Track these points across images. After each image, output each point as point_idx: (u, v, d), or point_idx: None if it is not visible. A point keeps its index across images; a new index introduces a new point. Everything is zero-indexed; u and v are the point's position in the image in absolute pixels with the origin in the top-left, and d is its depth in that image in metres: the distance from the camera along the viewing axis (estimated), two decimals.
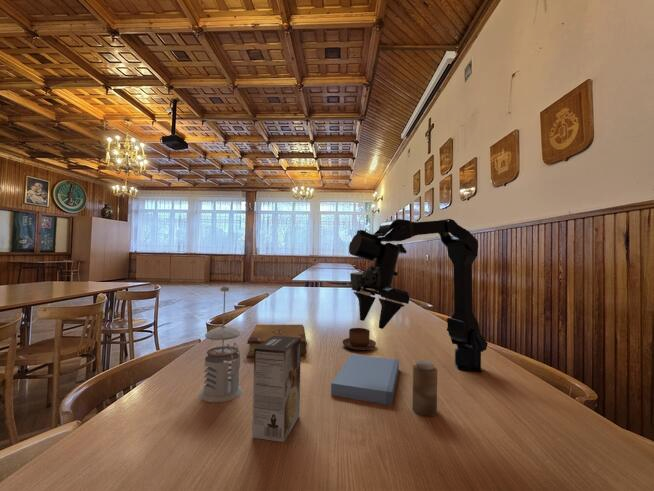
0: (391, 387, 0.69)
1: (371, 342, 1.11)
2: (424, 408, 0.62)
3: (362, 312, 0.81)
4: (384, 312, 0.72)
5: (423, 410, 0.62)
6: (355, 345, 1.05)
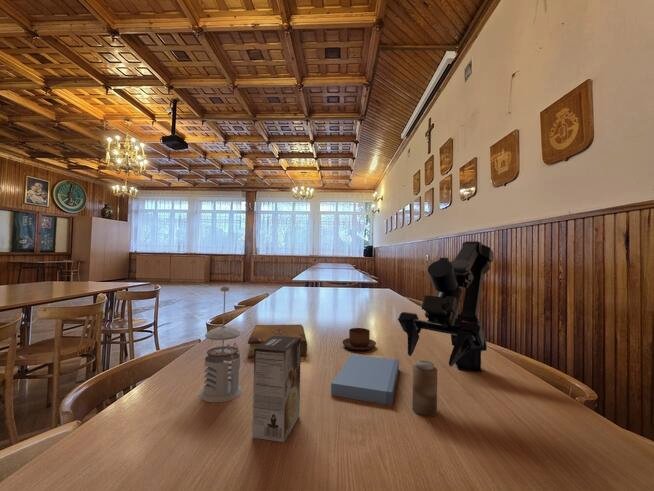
0: (391, 387, 0.69)
1: (371, 342, 1.11)
2: (424, 408, 0.62)
3: (411, 346, 0.70)
4: (459, 347, 0.64)
5: (423, 410, 0.62)
6: (355, 345, 1.05)
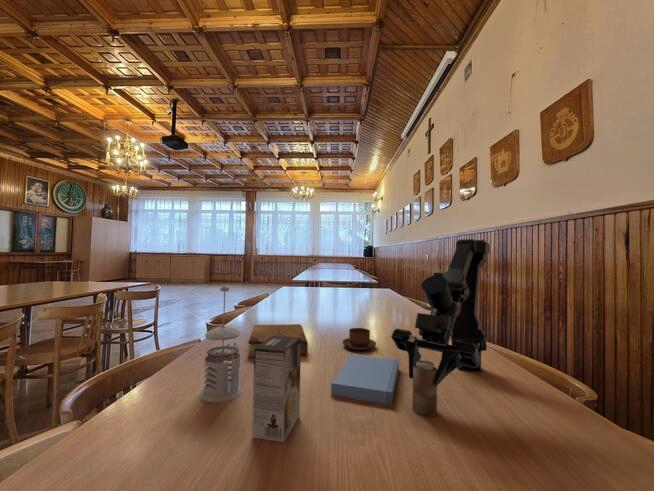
0: (391, 387, 0.69)
1: (371, 342, 1.11)
2: (424, 408, 0.62)
3: None
4: (445, 366, 0.63)
5: (423, 410, 0.62)
6: (355, 345, 1.05)
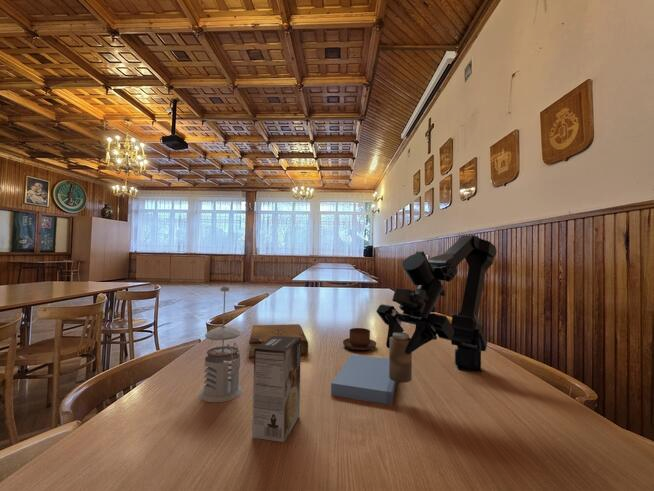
0: (391, 387, 0.69)
1: (372, 342, 1.10)
2: (397, 374, 0.67)
3: None
4: (417, 337, 0.67)
5: (396, 376, 0.67)
6: (355, 345, 1.05)
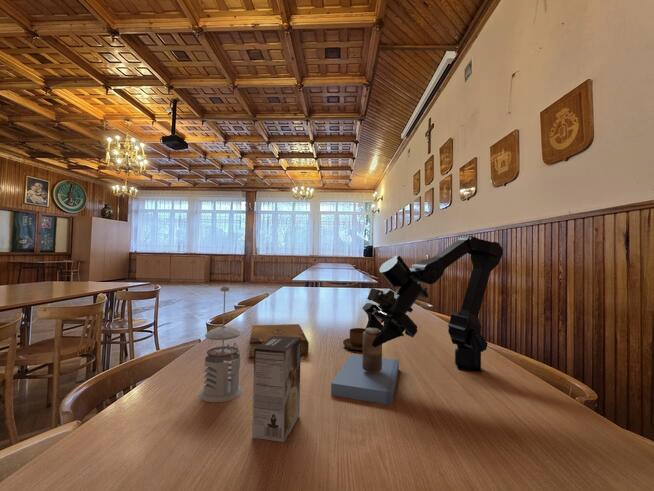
0: (391, 387, 0.69)
1: None
2: (365, 364, 0.76)
3: None
4: (383, 332, 0.75)
5: (365, 365, 0.77)
6: (356, 345, 1.05)
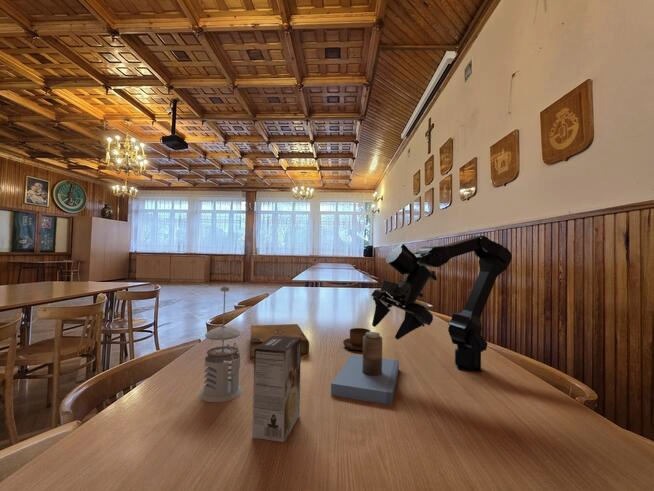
0: (391, 387, 0.69)
1: None
2: (365, 368, 0.77)
3: (376, 319, 0.85)
4: (405, 325, 0.76)
5: (365, 369, 0.77)
6: (356, 345, 1.05)
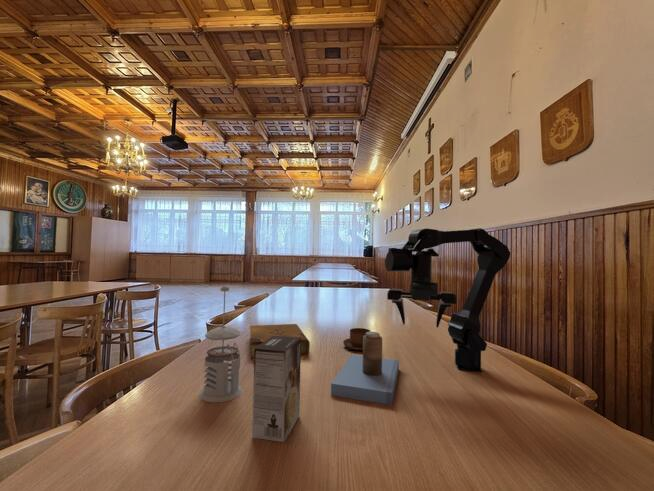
0: (391, 387, 0.69)
1: None
2: (366, 368, 0.77)
3: (404, 317, 0.88)
4: None
5: (365, 369, 0.77)
6: (356, 345, 1.05)
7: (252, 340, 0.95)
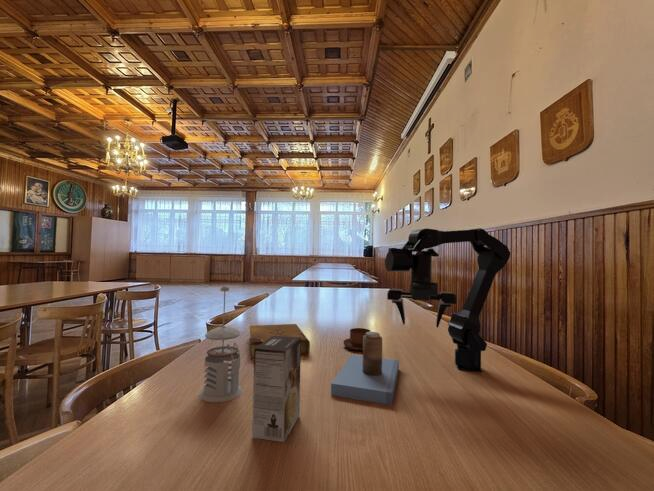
0: (391, 387, 0.69)
1: None
2: (366, 368, 0.77)
3: (404, 317, 0.88)
4: None
5: (365, 369, 0.77)
6: (356, 345, 1.05)
7: (252, 340, 0.95)
